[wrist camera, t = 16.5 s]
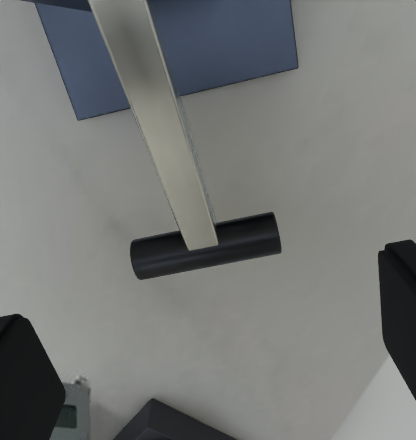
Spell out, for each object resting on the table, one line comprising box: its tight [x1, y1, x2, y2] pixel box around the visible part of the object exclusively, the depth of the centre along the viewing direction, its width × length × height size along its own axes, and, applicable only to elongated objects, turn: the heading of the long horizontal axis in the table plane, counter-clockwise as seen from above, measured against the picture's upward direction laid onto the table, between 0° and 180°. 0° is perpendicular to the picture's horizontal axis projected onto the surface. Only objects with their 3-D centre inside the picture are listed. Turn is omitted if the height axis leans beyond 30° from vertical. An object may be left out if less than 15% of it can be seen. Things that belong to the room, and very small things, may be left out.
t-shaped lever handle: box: [88, 0, 282, 280], centre depth 10 cm, size 13×5×2 cm, turn 13°
